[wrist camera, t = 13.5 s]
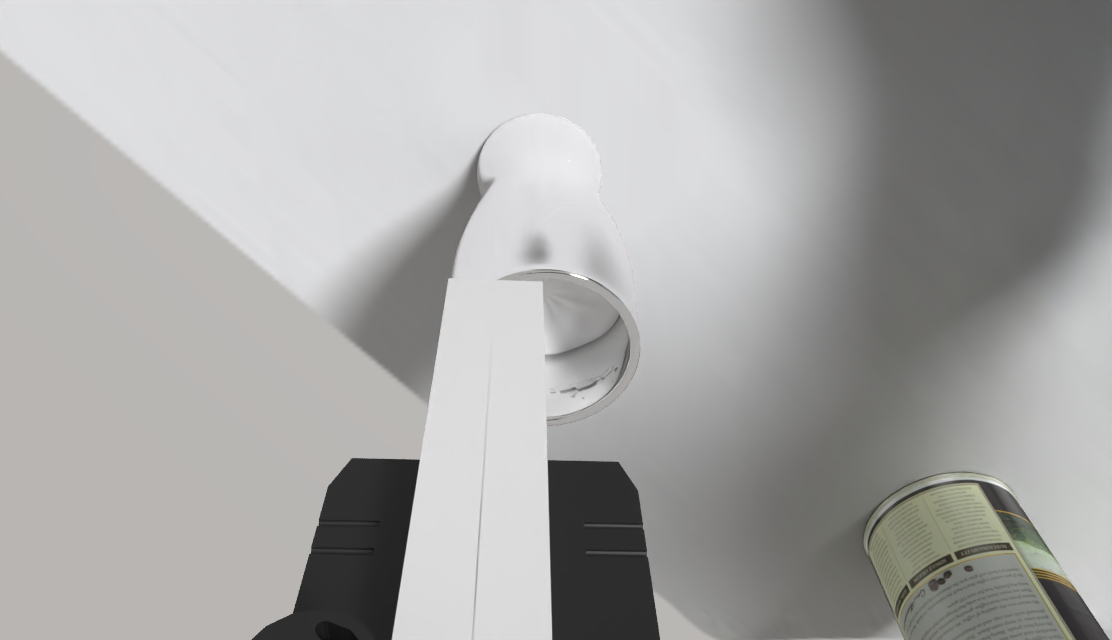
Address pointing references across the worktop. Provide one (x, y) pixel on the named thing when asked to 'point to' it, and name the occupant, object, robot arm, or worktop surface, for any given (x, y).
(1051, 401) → the worktop surface
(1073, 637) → the coffee can
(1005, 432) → the worktop surface
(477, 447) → the robot arm
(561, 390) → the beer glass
